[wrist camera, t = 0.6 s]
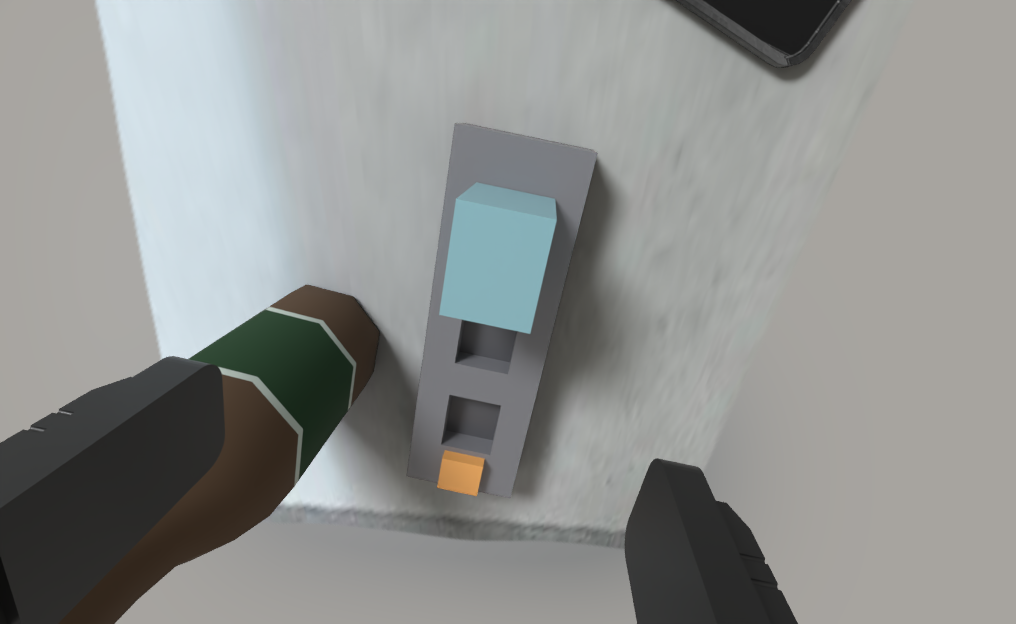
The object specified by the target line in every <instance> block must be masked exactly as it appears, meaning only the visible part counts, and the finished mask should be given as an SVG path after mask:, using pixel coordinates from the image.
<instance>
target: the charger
mask: <svg viewBox="0 0 1016 624" xmlns="http://www.w3.org/2000/svg"><path fill="white" fill-rule="evenodd" d="M556 221H557V216H556V203H555V199H554V198H549V197H544V196H539V195H535V194H530V193H525V192H520V191H515V190H511V189H506V188H501V187H496V186H492V185H487V184H482V183H477V182H476V183H475V184H474V185H473V186H471V187H470V188H469V189H468V190H466V191H465V192H464V193H463V194H461V195H460V196H459V197H458V198H456V203H455V210H454V216H453V223H452V230H451V237H450V244H449V251H448V258H447V264H446V271H445V278H444V285H443V292H442V299H441V305H440V312H439V315H443V316H447V317H452V318H457V319H462V320H466V321H471V322H476V323H481V324H485V325H490V326H495V327H500V328H504V329H509V330H514V331H519V332H523V333H528V334H530V333H531V328H532V324H533V320H534V315H535V311H536V307H537V302H538V298H539V294H540V290H541V285H542V281H543V277H544V272H545V268H546V264H547V260H548V255H549V251H550V247H551V242H552V238H553V234H554V230H555V225H556Z"/></svg>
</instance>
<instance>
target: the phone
mask: <svg viewBox="0 0 1016 624" xmlns="http://www.w3.org/2000/svg"><path fill="white" fill-rule="evenodd" d="M676 1H677V2H679V3H680V4H682V5H683V6H685V7H686V8H688V9H689V10H691V11H692V12H693V13H695V14H696V15H698V16H699V17H701V18H702V19H704V20H705V21H707V22H708V23H710V24H711V25H713V26H714V27H716V28H717V29H718V30H720V31H721V32H723V33H724V34H726V35H727V36H729V37H730V38H732V39H733V40H735V41H736V42H738V43H739V44H741V45H742V46H743V47H745V48H746V49H748V50H749V51H751V52H752V53H754V54H755V55H757V56H758V57H760V58H761V59H763V60H764V61H766V62H767V63H768V64H770V65H772V66H775V67H788V66H792V65H796V64H799V63H801V62H803V61H804V60H806V59H807V58H808V57H809V56H810V55H811V54H812V53H813V52H814V51H815V49H816V48H817V47H818V45H819V44H820V42H821V41H822V40H823V38H824V37H825V36H826V34H827V33H828V31H829V30H830V29H831V27H832V26H833V25H834V23H835V22H836V21H837V19H838V18H839V16H840V15H841V14H842V12H843V11H844V10H845V8H846V7H847V5H848V4H849V3H850V1H851V0H676Z"/></svg>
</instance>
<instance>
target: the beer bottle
mask: <svg viewBox="0 0 1016 624" xmlns="http://www.w3.org/2000/svg"><path fill="white" fill-rule="evenodd" d="M378 339H379V331H378V329H377V328H376V327H375V325H374V324H373V323H372V321H371V320H370V319H369V317H368V316H367V315H366V313H365V312H364V311H363V309H362V308H361V307H360V305H359V304H358V303H357V301H356V300H355V299H354V297H353V296H350V295H346V294H342V293H338V292H334V291H330V290H326V289H322V288H318V287H315V286H311V285H305V286H303V287H301V288H299V289H297V290H295V291H293V292H291V293H290V294H288V295H287V296H285V297H284V298H282V299H281V300H279V301H277V302H276V303H274V304H273V305H271V306H270V307H268V308H266V309H265V310H263V311H262V312H260V313H259V314H257V315H255V316H254V317H252V318H251V319H249V320H248V321H246V322H245V323H243V324H242V325H240V326H239V327H237V328H235V329H234V330H232V331H231V332H229V333H228V334H226V335H225V336H223V337H222V338H220V339H218V340H217V341H215V342H214V343H212V344H211V345H209V346H208V347H206V348H205V349H203V350H202V351H200V352H198V353H197V354H195V355H194V356H192V357H191V358H189V360H194V361H199V362H204V363H208V364H213V365H216V366H218V367H219V369H220V370H221V373H222V380H223V400H224V420H225V440H224V445H223V448H222V451H221V453H220V455H219V457H218V459H217V461H216V462H215V464H214V465H213V466H212V468H211V469H210V470H209V471H208V472H207V473H206V474H205V475H204V476H203V477H202V478H201V479H200V480H199V481H198V482H197V483H196V484H195V485H194V486H193V487H192V488H191V489H190V490H189V491H188V492H187V493H186V494H185V495H184V496H183V497H182V498H181V499H180V500H179V501H178V502H177V503H176V504H175V505H174V507H173V508H172V509H171V510H170V511H169V512H168V513H167V514H166V515H165V516H164V517H163V518H162V519H161V520H160V521H159V522H158V523H157V524H156V525H155V526H154V527H153V528H152V529H151V530H150V531H149V532H148V533H147V534H146V535H145V536H144V537H143V538H142V539H141V540H140V541H139V542H138V543H137V544H136V545H135V546H134V547H133V548H132V549H131V550H130V551H129V552H128V553H127V554H126V555H125V556H124V557H123V558H122V559H121V560H120V561H119V562H118V563H117V564H116V565H115V566H114V567H113V568H112V569H111V570H110V571H109V572H108V573H107V574H106V575H105V576H104V578H103V579H102V580H101V581H100V582H99V583H98V584H97V585H96V586H95V587H94V588H93V589H92V590H91V591H90V592H89V593H88V594H87V595H86V596H85V597H84V598H83V599H82V600H81V601H80V602H79V603H78V604H77V605H76V606H75V607H74V608H73V609H72V610H71V611H70V612H69V613H68V614H67V615H66V616H65V617H64V618H63V619H62V620H61V621H60V622H59V623H58V624H115V622H116V621H117V620H118V619H119V618H120V617H121V616H122V615H123V614H124V613H125V612H126V611H127V610H128V609H129V608H130V607H131V606H132V605H133V604H134V603H135V601H137V600H138V599H139V598H140V597H141V596H142V595H143V594H144V593H146V592H147V591H148V590H149V589H150V588H151V587H152V586H153V585H155V584H156V583H157V582H158V581H159V580H160V579H162V578H163V577H164V576H165V575H166V574H167V573H168V572H170V571H171V570H172V569H173V568H174V567H176V566H178V565H180V564H183V563H185V562H188V561H191V560H193V559H195V558H197V557H199V556H201V555H203V554H205V553H208V552H210V551H212V550H214V549H216V548H218V547H221V546H223V545H225V544H227V543H229V542H231V541H233V540H235V539H237V538H238V537H239V536H241V535H242V534H244V533H245V532H247V531H248V530H250V529H251V528H253V527H254V526H255V525H257V524H258V523H260V522H261V521H263V520H264V519H266V518H267V517H268V516H270V515H271V513H272V512H273V511H274V510H275V509H276V507H277V506H278V505H279V504H280V503H281V502H282V500H283V499H284V498H285V497H286V496H287V494H288V493H289V492H290V491H291V490H292V489H293V487H294V486H295V485H296V483H297V482H298V481H299V479H300V478H301V476H302V475H303V473H304V472H305V471H306V469H307V468H308V466H309V465H310V464H311V462H312V461H313V459H314V458H315V456H316V455H317V454H318V452H319V451H320V449H321V448H322V447H323V445H324V444H325V442H326V441H327V439H328V438H329V437H330V435H331V434H332V432H333V431H334V430H335V428H336V427H337V425H338V424H339V422H340V421H341V420H342V418H343V417H344V415H345V414H346V413H347V411H348V410H349V408H350V407H351V405H352V404H353V403H354V401H355V400H356V398H357V397H358V396H359V394H360V393H361V391H362V390H363V388H364V387H365V386H366V384H367V382H368V380H369V379H370V377H371V375H372V373H373V372H374V366H375V359H376V352H377V346H378Z"/></svg>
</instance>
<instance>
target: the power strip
mask: <svg viewBox="0 0 1016 624" xmlns="http://www.w3.org/2000/svg"><path fill="white" fill-rule="evenodd" d="M597 154H598V153H597V152H595V151H594V150H591V149H586V148H582V147H577V146H572V145H567V144H562V143H558V142H553V141H548V140H543V139H538V138H534V137H529V136H524V135H519V134H514V133H510V132H505V131H500V130H495V129H490V128H486V127H481V126H476V125H471V124H466V123H455V125H454V133H453V140H452V147H451V155H450V162H449V169H448V177H447V184H446V191H445V199H444V206H443V213H442V220H441V228H440V235H439V242H438V250H437V257H436V264H435V272H434V279H433V286H432V294H431V301H430V308H429V316H428V323H427V330H426V338H425V345H424V352H423V360H422V367H421V374H420V382H419V389H418V396H417V404H416V411H415V418H414V426H413V433H412V440H411V447H410V455H409V462H408V469H407V476H408V477H413V478H418V479H422V480H427V481H432V482H437V483H438V486H437V488H441V489H445V490H450V491H455V492H459V493H464V494H469V495H474V496H477V493H478V491H479V492H484V493H488V494H493V495H498V496H502V497H507V498H510V497H511V493H512V489H513V486H514V482H515V478H516V474H517V470H518V466H519V462H520V458H521V454H522V450H523V446H524V442H525V438H526V434H527V430H528V426H529V422H530V418H531V414H532V410H533V407H534V403H535V399H536V395H537V391H538V387H539V383H540V379H541V375H542V371H543V367H544V363H545V359H546V355H547V351H548V347H549V343H550V339H551V335H552V331H553V328H554V324H555V320H556V316H557V312H558V308H559V304H560V300H561V296H562V292H563V288H564V284H565V280H566V276H567V272H568V268H569V264H570V260H571V256H572V252H573V249H574V245H575V241H576V237H577V233H578V229H579V225H580V221H581V217H582V213H583V209H584V205H585V201H586V197H587V193H588V189H589V185H590V181H591V177H592V173H593V170H594V166H595V162H596V158H597ZM476 182H477V183H482V184H487V185H492V186H496V187H501V188H506V189H511V190H515V191H520V192H525V193H530V194H535V195H539V196H544V197H549V198H554V199H555V203H556V216H557V221H556V225H555V230H554V234H553V238H552V242H551V247H550V251H549V255H548V260H547V264H546V268H545V272H544V277H543V281H542V285H541V290H540V294H539V298H538V302H537V307H536V311H535V315H534V320H533V324H532V328H531V333H530V334H528V333H523V332H519V331H514V330H509V329H504V328H500V327H495V326H490V325H485V324H481V323H476V322H471V321H466V320H462V319H457V318H452V317H447V316H443V315H439V312H440V305H441V299H442V292H443V285H444V278H445V271H446V264H447V258H448V251H449V244H450V237H451V230H452V223H453V216H454V210H455V203H456V198H458V197H459V196H460V195H461V194H463V193H464V192H465V191H466V190H468V189H469V188H470V187H471V186H473V185H474V184H475V183H476Z"/></svg>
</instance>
